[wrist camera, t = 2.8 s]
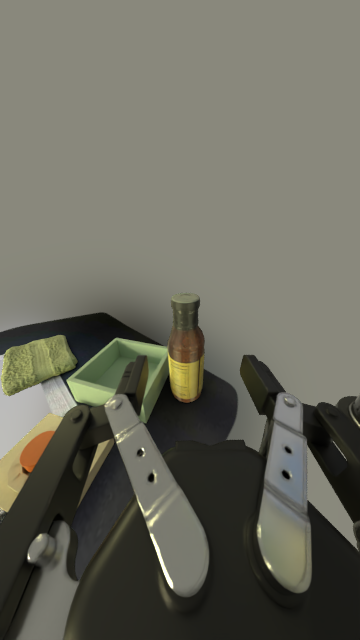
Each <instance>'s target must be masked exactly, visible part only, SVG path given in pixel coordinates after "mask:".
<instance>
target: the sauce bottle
mask: <svg viewBox="0 0 360 640" xmlns="http://www.w3.org/2000/svg"><path fill="white" fill-rule="evenodd" d="M199 306H200V298H199V296H198V295H196V294H192V293H180V294H176V295H174V296H173V297H172V298H171V307H172V309H173V327H172V330H171V334H170V337H169V340H168V343H167V350H168V361H169V373H170V386H171V390H172V393H173V395H174V397H175V398H176V399H178V400H179V401H182V402H185V403H188V402H192V401H194V400H196V399H198V397H199V396H200V394H201V389H202V385H203V367H204V335H203V333H202V330H201V329H200V328H199V326H198V308H199Z"/></svg>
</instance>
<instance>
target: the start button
mask: <svg viewBox="0 0 360 640" xmlns="http://www.w3.org/2000/svg"><path fill="white" fill-rule="evenodd" d="M54 433H55V431H46V432H43V433H41V434H39V435H38V436H36V437H35V438H33V439H32V440H31V441H30V442H29V443H28V444H27V445H26V446H25V448H24V449H23V451H22V453H21V455H20V464H21V465H22V466H23V467H24V468H25V469H26V470H27V471H28V472H29V473H31V472H32V470H33V468H34V467H35V465H36V463H37V462H38V460H39V458H40V456H41V455H42V453H43V451H44V450H45V448H46V446H47V445H48V443H49V441H50V439H51V438H52V436H53V434H54Z"/></svg>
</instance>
